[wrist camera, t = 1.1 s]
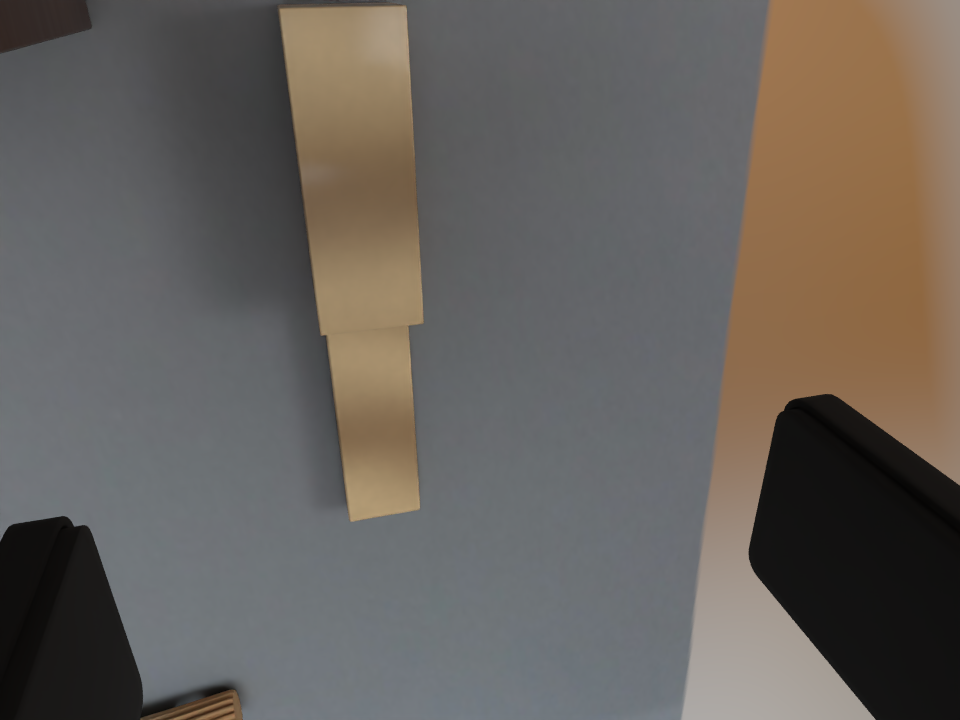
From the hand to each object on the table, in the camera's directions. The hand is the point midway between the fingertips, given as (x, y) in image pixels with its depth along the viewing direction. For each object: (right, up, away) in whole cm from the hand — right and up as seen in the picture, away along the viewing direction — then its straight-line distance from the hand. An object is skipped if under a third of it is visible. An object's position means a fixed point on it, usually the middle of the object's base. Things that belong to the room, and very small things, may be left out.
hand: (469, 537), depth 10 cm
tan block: (-4, +5, +15) cm, 16 cm away
